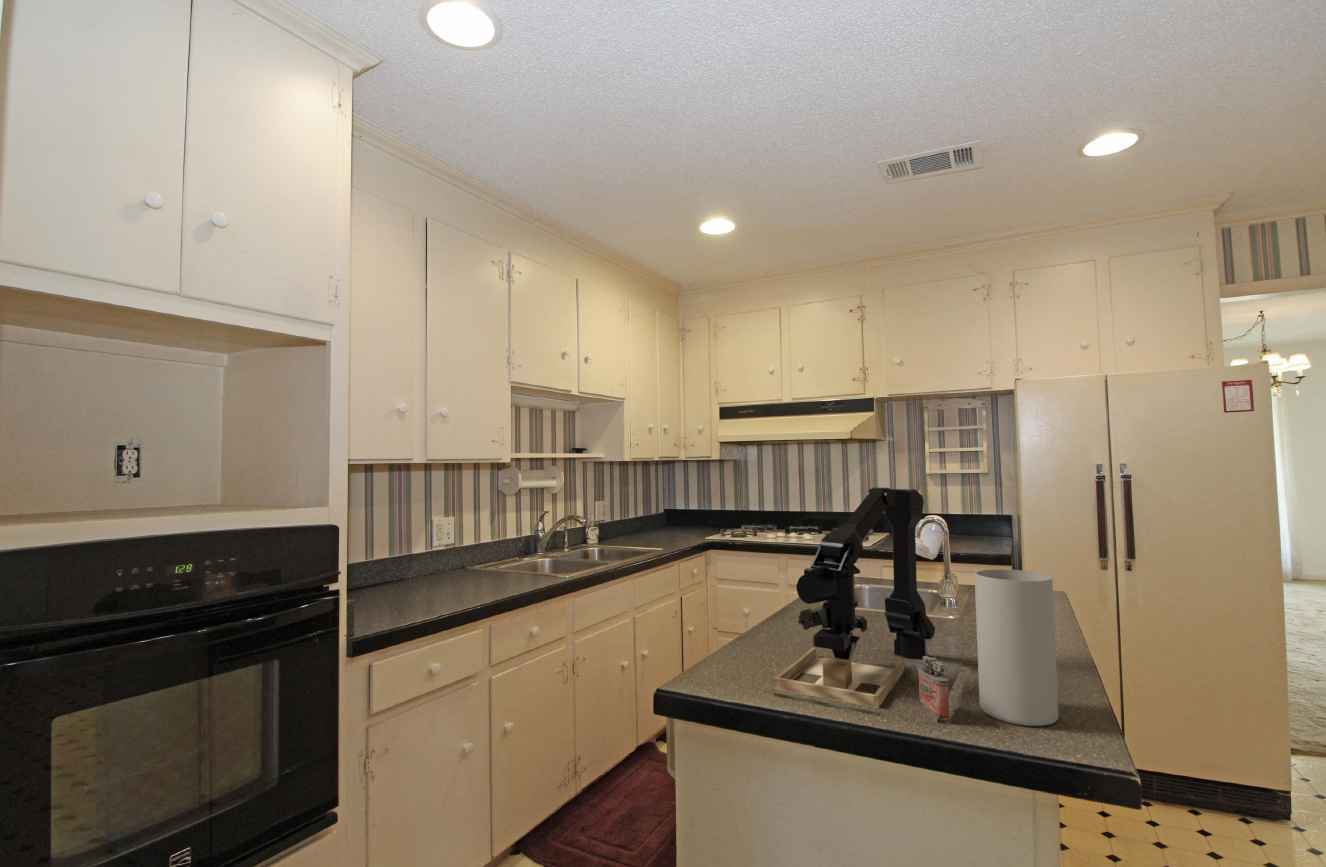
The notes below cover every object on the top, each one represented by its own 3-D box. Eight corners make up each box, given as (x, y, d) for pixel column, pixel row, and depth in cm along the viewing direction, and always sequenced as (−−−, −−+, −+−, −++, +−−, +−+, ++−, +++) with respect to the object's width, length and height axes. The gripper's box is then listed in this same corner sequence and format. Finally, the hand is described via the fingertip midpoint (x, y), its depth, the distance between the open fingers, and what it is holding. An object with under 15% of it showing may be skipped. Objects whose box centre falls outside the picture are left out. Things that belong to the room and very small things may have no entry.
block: (852, 682, 126) (851, 660, 126) (845, 689, 122) (845, 666, 122) (830, 679, 128) (829, 656, 128) (823, 685, 124) (822, 662, 124)
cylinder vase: (1002, 728, 107) (996, 581, 108) (967, 701, 119) (962, 569, 121) (1075, 727, 107) (1068, 580, 108) (1031, 700, 119) (1026, 568, 121)
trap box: (904, 677, 133) (904, 660, 133) (878, 716, 112) (877, 696, 113) (813, 663, 143) (812, 647, 144) (774, 696, 123) (773, 678, 123)
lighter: (914, 706, 117) (912, 652, 117) (931, 705, 117) (929, 651, 118) (936, 724, 109) (934, 666, 109) (955, 723, 109) (953, 665, 110)
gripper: (816, 585, 142) (818, 655, 141) (787, 601, 126) (789, 680, 125) (866, 590, 136) (868, 663, 135) (842, 607, 120) (844, 690, 119)
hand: (842, 673), depth 129 cm, fingers closed
